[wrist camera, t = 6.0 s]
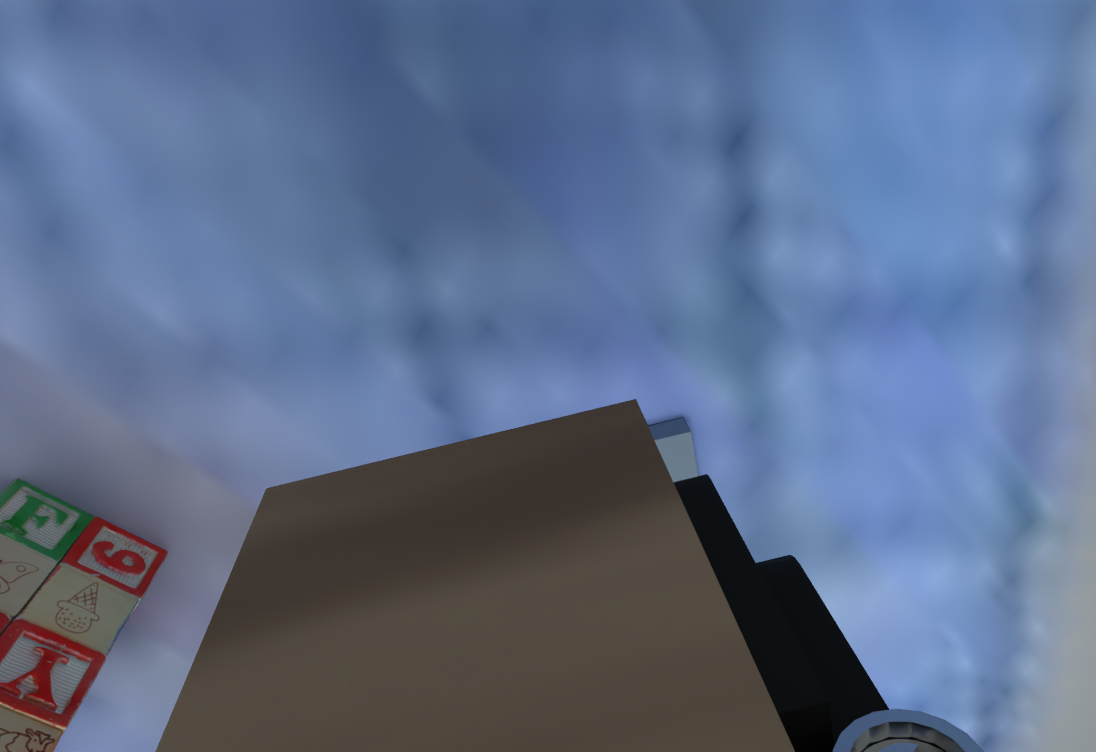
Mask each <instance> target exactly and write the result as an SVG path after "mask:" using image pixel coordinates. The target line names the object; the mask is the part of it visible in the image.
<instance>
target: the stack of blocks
mask: <svg viewBox="0 0 1096 752" xmlns="http://www.w3.org/2000/svg"><path fill="white" fill-rule="evenodd" d="M167 553H168V552H167V551H165V550H164V549H161V548H159V547H157V546H155V545H153V544H151V543H149V542H147V541H145V540H143V539H141V538H139V537H137V536H135V535H133V534H131V533H129V532H127V531H125V530H123V529H121V528H119V527H117V526H115V525H113V524H111V523H108V522H106V521H105V520H103V519H101V518H98V517H94V516H92V515H90V514H88V513H86V512H84V511H82V510H80V509H78V508H76V507H74V506H72V505H70V504H68V503H66V502H64V501H62V500H60V499H58V498H56V497H54V496H52V495H50V494H48V493H46V492H44V491H42V490H40V489H38V488H36V487H34V486H32V485H30V484H28V483H26V482H24V481H22V480H20V479H16V480H15V481H13V482H12V483H11V484H10V485H9V486H8V487H7V488H6V489H5V490H4V491H3V492H1V493H0V752H53V751H54V749H55V747H56V745H57V743H58V741H59V739H60V737H61V736H62V734H63V733H64V731H65V730H66V728H67V727H68V725H69V724H70V722H71V720H72V718H73V717H74V715H75V713H76V712H77V710H78V708H79V707H80V705H81V703H82V701H83V700H84V698H85V696H86V695H87V693H88V691H89V689H90V688H91V686H92V684H93V682H94V680H95V678H96V677H97V675H98V673H99V671H100V670H101V668H102V666H103V664H104V663H105V660H106V657H107V655H108V653H109V652H110V650H111V648H112V646H113V644H114V642H115V640H116V638H117V636H118V635H119V633H120V631H121V629H122V628H123V626H124V624H125V623H126V622H127V620H128V619H129V617H130V616H131V614H132V613H133V612H134V610H135V609H136V607H137V606H138V604H139V603H140V602H141V600H142V598H143V597H144V595H145V593H146V591H147V589H148V588H149V586H150V584H151V582H152V580H153V578H154V577H155V575H156V573H157V571H158V570H159V568H160V566H161V565H162V563H163V561H164V560H165V558H166V556H167Z"/></svg>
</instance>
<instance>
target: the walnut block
mask: <svg viewBox="0 0 1096 752" xmlns="http://www.w3.org/2000/svg"><path fill="white" fill-rule="evenodd" d="M156 752H795V751H794V748H793V746H792V744H791V742H790V739H789V737H788V735H787V733H786V731H785V728H784V726H783V724H782V722H781V720H780V717H779V715H778V713H777V711H776V708H775V706H774V704H773V702H772V700H771V697H770V695H769V693H768V691H767V689H766V686H765V684H764V682H763V680H762V677H761V675H760V673H759V671H758V669H757V666H756V664H755V662H754V660H753V658H752V655H751V653H750V651H749V649H748V646H747V644H746V642H745V640H744V638H743V635H742V633H741V631H740V629H739V627H738V624H737V622H736V620H735V618H734V615H733V613H732V611H731V609H730V607H729V604H728V602H727V600H726V598H725V596H724V593H723V591H722V589H721V587H720V584H719V582H718V580H717V578H716V576H715V573H714V571H713V569H712V567H711V565H710V562H709V560H708V558H707V556H706V553H705V551H704V549H703V547H702V545H701V542H700V540H699V538H698V536H697V534H696V531H695V529H694V527H693V525H692V522H691V520H690V518H689V516H688V514H687V511H686V509H685V507H684V505H683V503H682V500H681V498H680V496H679V494H678V491H677V489H676V487H675V485H674V483H673V480H672V478H671V476H670V474H669V472H668V469H667V467H666V465H665V463H664V460H663V458H662V456H661V454H660V452H659V449H658V447H657V445H656V443H655V441H654V438H653V436H652V434H651V432H650V429H649V427H648V425H647V423H646V421H645V418H644V416H643V414H642V412H641V410H640V407H639V405H638V403H637V401H636V399H634V400H630V401H626V402H622V403H618V404H614V405H609V406H605V407H601V408H597V409H593V410H589V411H585V412H580V413H576V414H572V415H568V416H564V417H560V418H556V419H552V420H547V421H543V422H539V423H535V424H531V425H527V426H523V427H518V428H514V429H510V430H506V431H502V432H498V433H494V434H489V435H485V436H481V437H477V438H473V439H469V440H465V441H461V442H456V443H452V444H448V445H444V446H440V447H436V448H432V449H427V450H423V451H419V452H415V453H411V454H407V455H403V456H398V457H394V458H390V459H386V460H382V461H378V462H374V463H369V464H365V465H361V466H357V467H353V468H349V469H345V470H341V471H336V472H332V473H328V474H324V475H320V476H316V477H312V478H307V479H303V480H299V481H295V482H291V483H287V484H283V485H278V486H274V487H270V488H266V491H265V493H264V495H263V498H262V500H261V503H260V505H259V507H258V510H257V512H256V514H255V517H254V519H253V522H252V524H251V526H250V529H249V531H248V533H247V536H246V538H245V541H244V543H243V545H242V548H241V550H240V552H239V555H238V557H237V560H236V562H235V564H234V567H233V569H232V571H231V574H230V576H229V579H228V581H227V583H226V586H225V588H224V590H223V593H222V595H221V598H220V600H219V602H218V605H217V607H216V609H215V612H214V614H213V617H212V619H211V621H210V624H209V626H208V628H207V631H206V633H205V636H204V638H203V640H202V643H201V645H200V647H199V650H198V652H197V655H196V657H195V659H194V662H193V664H192V666H191V669H190V671H189V674H188V676H187V678H186V681H185V683H184V685H183V688H182V690H181V693H180V695H179V697H178V700H177V702H176V704H175V707H174V709H173V712H172V714H171V716H170V719H169V721H168V723H167V726H166V728H165V731H164V733H163V735H162V738H161V740H160V742H159V745H158V747H157V750H156Z"/></svg>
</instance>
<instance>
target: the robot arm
mask: <svg viewBox="0 0 1096 752" xmlns="http://www.w3.org/2000/svg"><path fill="white" fill-rule="evenodd" d="M673 483H674V485H675V487H676V489H677V491H678V494H679V496H680V498H681V500H682V503H683V505H684V507H685V509H686V511H687V514H688V516H689V518H690V520H691V522H692V525H693V527H694V529H695V531H696V534H697V536H698V538H699V540H700V542H701V545H702V547H703V549H704V551H705V553H706V556H707V558H708V560H709V562H710V565H711V567H712V569H713V571H714V573H715V576H716V578H717V580H718V582H719V584H720V587H721V589H722V591H723V593H724V596H725V598H726V600H727V602H728V604H729V607H730V609H731V611H732V613H733V615H734V618H735V620H736V622H737V624H738V627H739V629H740V631H741V633H742V635H743V638H744V640H745V642H746V644H747V646H748V649H749V651H750V653H751V655H752V658H753V660H754V662H755V664H756V666H757V669H758V671H759V673H760V675H761V677H762V680H763V682H764V684H765V686H766V689H767V691H768V693H769V695H770V697H771V700H772V702H773V704H774V706H775V708H776V711H777V713H778V715H779V717H780V720H781V722H782V724H783V726H784V728H785V731H786V733H787V735H788V737H789V739H790V742H791V744H792V746H793V748H794V751H795V752H984V750H983V749H982V748H981V747H980V746H979V745H978V744H977V743H976V742H975V741H974V740H973V739H972V738H971V737H970V736H969V735H968V734H967V733H965V732H964V731H962V730H961V729H959V728H957V727H956V726H954V725H952V724H951V723H949V722H948V721H946V720H944V719H941V718H938V717H935V716H932V715H929V714H927V713H924V712H921V711H912V710H903V709H891V710H889V708H888V707H887V705H886V703H885V702H884V700H883V699H882V697H881V695H880V694H879V692H878V690H877V689H876V687H875V686H874V684H873V682H872V681H871V679H870V677H869V676H868V674H867V673H866V671H865V669H864V668H863V666H862V664H861V663H860V661H859V660H858V658H857V656H856V655H855V653H854V651H853V650H852V648H851V647H850V645H849V643H848V642H847V640H846V638H845V637H844V635H843V633H842V632H841V630H840V629H839V627H838V625H837V624H836V622H835V620H834V619H833V617H832V616H831V614H830V612H829V611H828V609H827V607H826V606H825V604H824V603H823V601H822V599H821V598H820V596H819V594H818V593H817V591H816V590H815V588H814V586H813V585H812V583H811V581H810V580H809V578H808V577H807V575H806V573H805V572H804V570H803V568H802V567H801V565H800V564H799V563H798V561H797V560H796V558H795V557H793V556H791V555H788V556H783V557H779V558H775V559H771V560H767V561H763V562H759V563H755V561H754V559H753V557H752V556H751V554H750V552H749V550H748V548H747V546H746V544H745V543H744V541H743V539H742V537H741V535H740V533H739V531H738V529H737V528H736V526H735V524H734V522H733V520H732V518H731V516H730V514H729V513H728V511H727V509H726V507H725V505H724V503H723V501H722V500H721V498H720V496H719V494H718V492H717V490H716V488H715V486H714V485H713V483H712V481H711V479H710V477H709V476H708V475H707V474H706V475H701V476H697V477H693V478H689V479H685V480H681V481H677V482H673Z"/></svg>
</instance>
